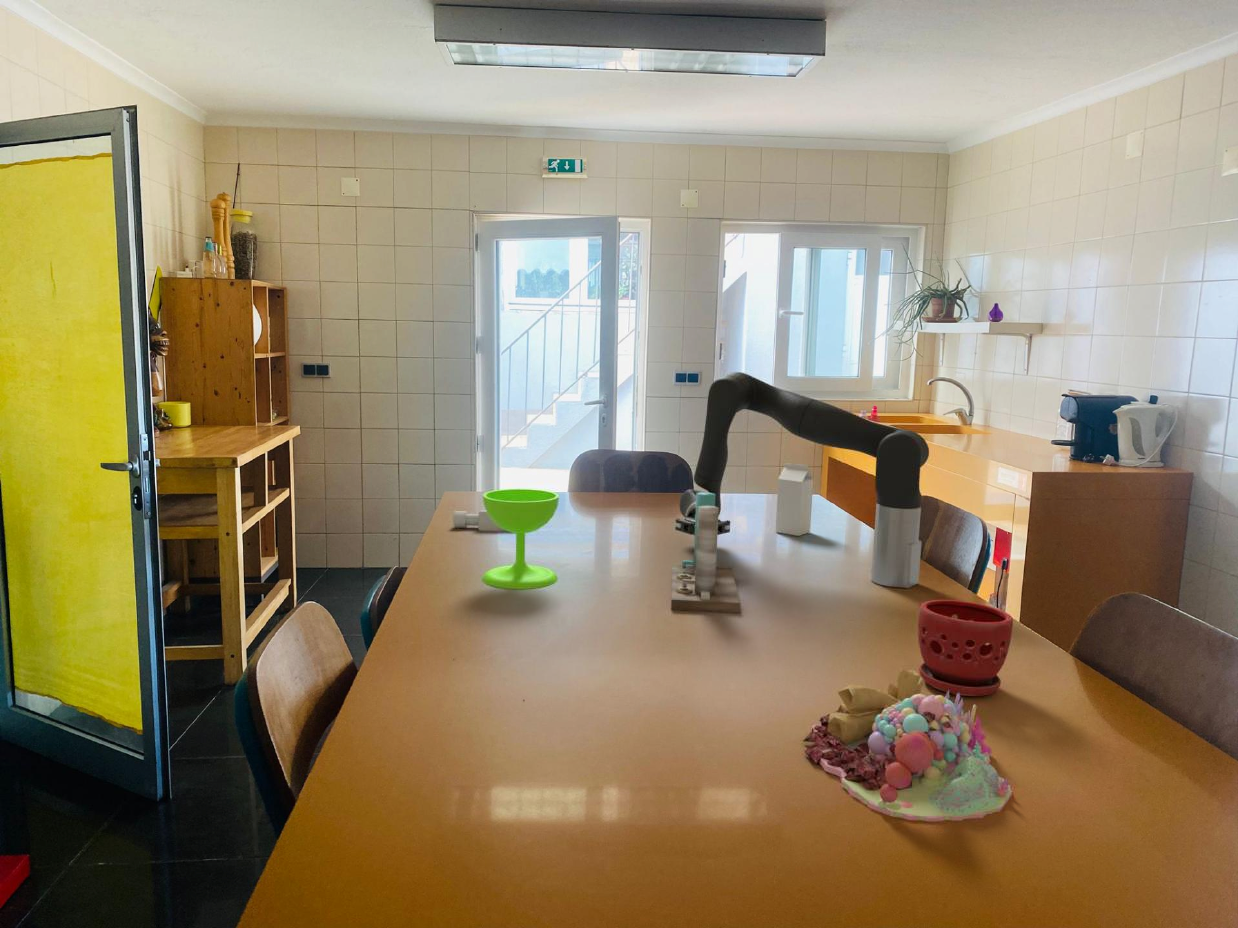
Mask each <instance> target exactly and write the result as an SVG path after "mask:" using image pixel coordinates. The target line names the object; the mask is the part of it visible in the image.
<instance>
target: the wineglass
mask: <svg viewBox="0 0 1238 928" xmlns="http://www.w3.org/2000/svg"><path fill="white" fill-rule="evenodd" d="M559 499H560V494H558V493H556V492H553V491H550V490H549V491H548V490H545V489H544V490H543V489H532V488H506V489H498V490H497V489H495V490H489V491H487V492H485V493H483V494H482V501H483V505H484V510H486V511H487V513H488V515H489V517H490V518H491V519H492V520H493V522H494V523H495V524H497V525H498V526H499V527H501V528H502V529H504V530H507V532H510V533H514V534H515V562H514V564H510V565H502V566H496V567H494V568H491V569H489V570H487V571H486V572H484V574H483V576H482V578H481V580H482V582H483V583H485V584H487V585H489V586H491V587H496V588H501V589H510V590H529V589H531V590H532V589H539V588H543V587H549V586H551V585H553V584H555V583H556V582H557V581H558V576H557V574H556V573H555V572H554V571H553V570H551V569H550V568H547V567H544V566H539V565H534V564H533V565H532V564H527V563H526V534H528V533H531V532H535V531H537V530H539V529H541V528H542V527H543V526H545V525H547V524H548V523H549V521H550V520H551V519H552V518H553V517H554V515H555V512H556V510H557V508H558V505H559Z"/></svg>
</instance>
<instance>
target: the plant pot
mask: <svg viewBox="0 0 1238 928" xmlns="http://www.w3.org/2000/svg"><path fill="white" fill-rule="evenodd" d="M919 607H920V608H919V614H918V622H917V623H918V624H917V630H918V631H917V634H918V635H917V636H918V646H919V650H920V654H921V658H922V660H923V663H921V664H920V665H919V669H918V671H919V672H918V674H919V675H921V676H920V677H923V681H924V682H926V683H927V684H928V685H929V686H931V687H933V688H935V689H937V690H938V691H942V692H945V693H947V692H948V690H949V694H951V695H953V696H955V697H956V696H957V694H958V693H959V694H960V696H966V697H980V696H986V695H990V694H993V693H995V692H996V691H997V690H998V689H999V688H1000V686H1001V684H1002V682H1001V681H1002V680H1001V678H1000V677H999V675H998V673H999V672H1000V671H1001V669H1002V668H1003V666H1004V665H1005V664H1004V663H1005V662H1006V659H1007V656H1008V653H1009V649H1010V645H1011V640H1012V633H1013V625H1014V624H1013V623H1014V619H1013V616H1011V614H1010V613H1008V612H1006V611H1004V610H1001V609H999V608H996V607H993V606H990V605H986V604H981V603H977V602H970V601H965V600H964V601H963V600H957V599H955V600H952V599H935V600H928V601H924V602H922V603H921V605H920V606H919ZM953 616H957V618H954V617H953Z"/></svg>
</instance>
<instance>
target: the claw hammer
mask: <svg viewBox="0 0 1238 928" xmlns="http://www.w3.org/2000/svg"><path fill="white" fill-rule="evenodd" d="M452 518H453V521H452V522H453V524H452V525H453V527H454V529H455V528H457V529H459V528H461V529H466V528H467V527H468V526H471V527H472V526H474V527H475V526H477V527H478V531H484V532H485V531H489V532H492V531H493V532H494V531H495V532H499V531H500V532H502V531H503V532H504V531H507V530H504V529H502V528H501V527H499V526H498V525H497V524H495V523H494V522H493V520H492V519H491V518H490V517H489V515H488V513H487V511H486V509H484V510H478V513H468V511H467V510H455V511H454V514H453V517H452ZM507 532H508V531H507Z"/></svg>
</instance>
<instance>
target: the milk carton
mask: <svg viewBox="0 0 1238 928" xmlns="http://www.w3.org/2000/svg"><path fill="white" fill-rule="evenodd" d="M809 469H810V466H809V465H807V464H806V465H804V464H796V463H788V462H785V463H784V467H783V469H782V471H781V473H780V474H779V476H778V479H777V492H776V493H777V494H776V495H777V497H776V515H775V533H777V534H778V533H779V534H785V535H789V536H797V537H800V536H803V535H805V534H808V533H811V525H812V524H811V523H812V521H811V519H812V509H813V508H812V507H813V493H814V491H813V489H814V488H813V487H814V478H813V476H812V474H811V471H810V470H809Z"/></svg>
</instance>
